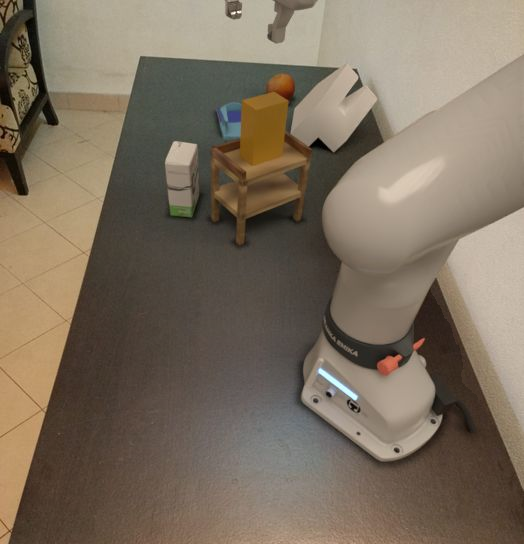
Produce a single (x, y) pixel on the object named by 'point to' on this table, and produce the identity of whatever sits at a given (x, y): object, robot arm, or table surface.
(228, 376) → the table surface
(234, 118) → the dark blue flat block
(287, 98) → the fruit
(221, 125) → the chair
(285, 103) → the yellow block
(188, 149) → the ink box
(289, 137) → the rack
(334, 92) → the slotted wedge
